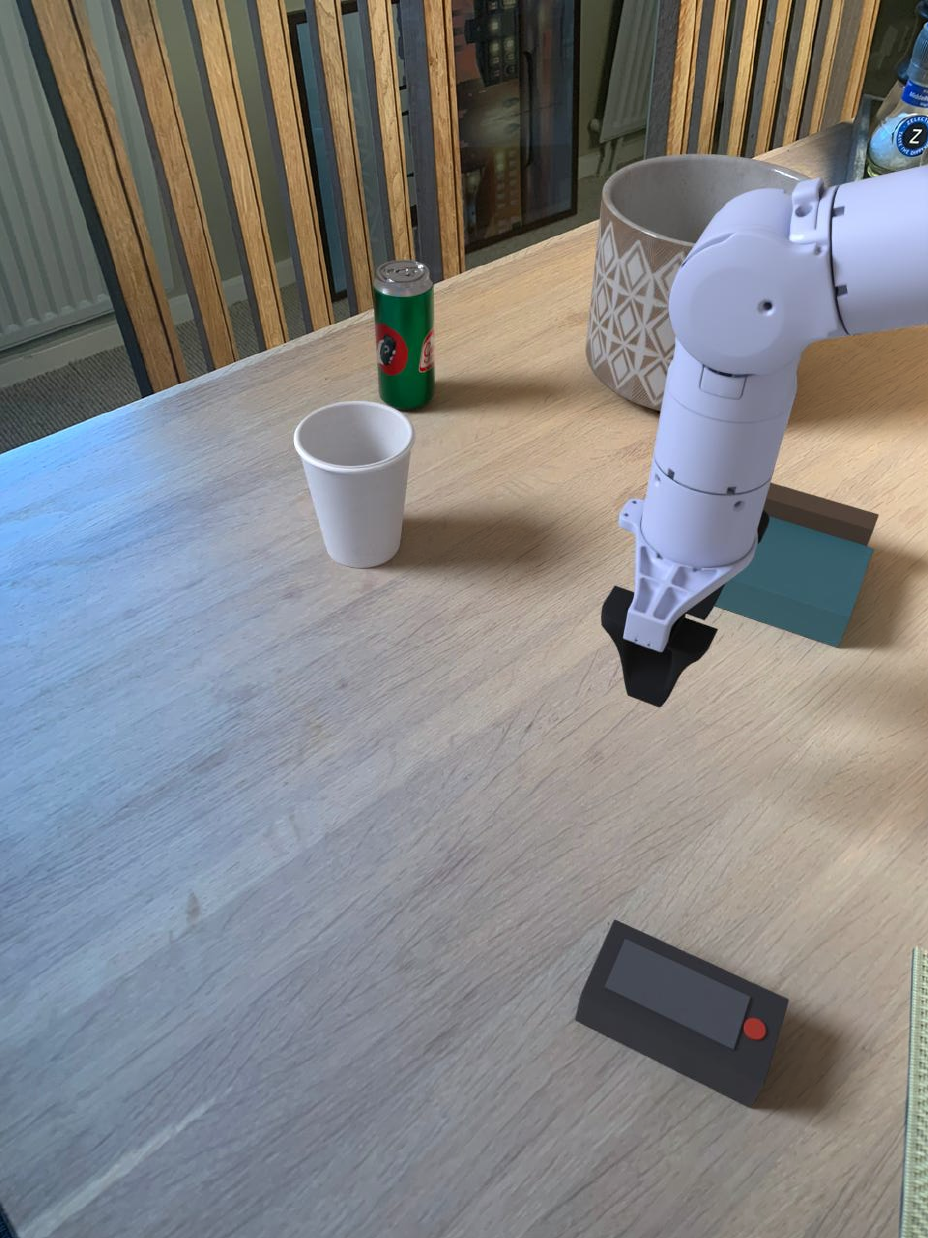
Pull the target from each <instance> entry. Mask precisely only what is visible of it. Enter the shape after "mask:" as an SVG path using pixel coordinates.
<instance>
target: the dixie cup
mask: <svg viewBox="0 0 928 1238" xmlns="http://www.w3.org/2000/svg"><path fill="white" fill-rule="evenodd" d="M415 442H416V430H415V427H414V425H413V423H412V422H411V420H410V419H409V418H408V417H407V416H406V415H405V414H404V413H402V412H401V411H400V410H398V409H394V408H392V407H390V406H388V405H387V404H383V403H381V402H374V401H369V400H348V401H341V402H335V403H331V404H328V405H325V406H323V407H319V408H318V409H316V410H314V411H312V412H311V413H310V414H308V415H307V416H305V417H304V418H302V420H301V421H300V423H299V424H298V425H297V427H296V429H295V431H294V433H293V443H294V449H295V450H296V452H297V454H298V455H299V456H300V459H301V462H302V466H303V470H304V473H305V477H306V481H307V484H308V488H309V491H310V495H311V499H312V502H313V506H314V510H315V513H316V517H317V520H318V524H319V528H320V531H321V534H322V539H323V543H324V546H325V549H326V552H327V554H328V555H329V557H330V558H331V559H332V560H333V561H335V562H336V563H338V564H340V565H342V566H345V567H348V568H355V569H367V568H373V567H378V566H380V565H383V564H385V563H387V562H388V561H390V560H391V559H393V558H394V557H395V555H397V553H398V551H399V549H400V547H401V540H402V531H403V521H404V514H405V513H404V512H405V504H406V494H407V489H408V488H407V486H408V479H409V469H410V462H411V461H410V460H411V452H412V449H413V447H414V446H415Z"/></svg>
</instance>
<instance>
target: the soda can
mask: <svg viewBox="0 0 928 1238" xmlns="http://www.w3.org/2000/svg"><path fill="white" fill-rule="evenodd" d="M372 298H373V299H372V300H373V316H374V317H373V318H374V333H375V349H376V351H375V352H376V367H377V368H376V369H377V370H376V371H377V385H378V386H377V388H378V396H379V398H380V400H381V401H382V402H384V403H385V405H387V406H389V407H392V408H394V409H396V410H398V411H415V410H418V409H422V408H424V407H425V406H427V405H428V404H429V403H430V402H431V401H432V400H433V398H434V397H435V395H436V354H435V353H436V352H435V350H436V348H435V344H436V342H435V341H436V340H435V282H434V280H433V278H432V276H431V275H430V270H429V267H427V266H426V264H424V263H422V262H420V261H416V260H411V259H396V260H390V261H387V262H384V263H382V264H381V265H379V266H378V267H377V269H376V276H375V278H374V279H373V282H372Z"/></svg>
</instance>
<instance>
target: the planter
mask: <svg viewBox="0 0 928 1238" xmlns="http://www.w3.org/2000/svg"><path fill="white" fill-rule="evenodd" d="M810 179H813V178H812V177H810V176H808V175H805V174H803V173H801V172H799V171H797V170H793V169H792V168H788V167H785V166H782V165H779V164H775V163H772V162H768V161H764V160H759V159H754V158H749V157H744V156H743V157H742V156H736V155H728V154H727V155H726V154H714V153H713V154H712V153H682V154H671V155H663V156H661V155H660V156H656V157H652V158H646V159H642V160H639V161H636V162H633V163H630V164H629V165H628V164H627V165H626V166H623V167H622V168H620V169H618V170H616V171H615V172H614V173H613V174H611V175H610V177H609V178H607V180H606V181H605V183H604V185H603V188H602V193H601V202H600V210H599V211H600V212H599V221H598V230H597V237H596V238H597V239H596V247H595V256H594V267H593V275H592V276H593V277H592V286H591V293H590V302H589V303H590V304H589V311H588V320H587V321H588V322H587V329H586V330H587V331H586V340H585V357H586V361H587V364H588V366H589V368H590V370H591V371H592V373H593V374H594V375H595V377H596V378H597V379H598V380H599V381H600V383H602V384H603V385H604V386H605V387H607V388H608V389H609V390H610V391H612V392H613V393H615V394H617V395H618V396H620V397H622V398H623V399H625V400H628V401H630V402H632V403H635V404H637V405H639V406H642V407H645V408H648V409H652V410H654V411H657V412H661V407H662V401H663V396H664V390H665V384H666V378H667V372H668V368H669V366H670V363H671V361H672V360H673V357H674V351H675V338H676V335H675V333H674V330H673V328H672V325H671V321H670V316H669V297H670V292H671V288H672V285H673V282H674V280H675V277H676V275H677V272H678V270H679V268H680V266H681V264H682V263H683V261H684V260H685V259H686V257H687V256H688V254H689V253H690V251H691V250H692V248H693V247H694V245H695V244H696V242H697V241H698V239H699V238H700V236H701V235H702V233H703V232H704V230H705V229H706V227H707V226H708V225H709V223H710V222H711V220H712V219H713V217H714V216H715V214H716V213H717V212H718V211H720V210H721V209H722V208H723V207H724V206H725V205H726V203H728V202H729V201H731V200H732V199H733V198H735V197H737V196H739V195H741V194H743V193H746V192H749V191H753V190H756V189H764V188H779V189H785V190H786V192H785V194H789V195H792V193H793V191H794V189H795V187H796V185H797V184H798V183H799V182H802V181H806V180H810ZM825 188H827V187H825ZM804 351H805V349H804V350H803V352H802V353H801V356H800V359H799V363H798V366H797V371H796V375H797V376H798V372H799V369H800V365H801V362H802V358H803V354H804Z"/></svg>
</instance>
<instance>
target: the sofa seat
mask: <svg viewBox="0 0 928 1238" xmlns="http://www.w3.org/2000/svg"><path fill="white" fill-rule="evenodd" d="M763 510H764V511H765V512H766V513H767V514H768V515H769V518H770V520H769V524H768V527H767V529H766V531H765V533H764V535H763V538H762V540H761V542H760V543H759V544H757V547H756V550H755V554H754V557H753V559H752V561H751V562H750V563H749V565H748V566H747V567H746V568H745V569H743V570H742V571H741V572H740V573H738V574H737V575H735V576H734V577H733V578H731V579H730V580H729V581H727V582H726V584H725V586H724V588H723V590H722V592H721V594H720V596H719V598H718V600H717V602H716V604H715V606H714V607H717V608H719V609H722V610H725V611H728V612H732V613H733V614H734V613H735V614H737V615H740V616H742V617H746V618H748V619H751V620H755V621H757V622H761V623H764V624H767V625H769V626H773V627H775V628H778V629H780V630H784V631H787V632H790V633H792V634H795V635H799V636H802V637H804V638H808V639H810V640H814V641H816V642H819V643H822V644H825V645H828V646H830V647H834V648H837V649H838V648H839V647H840V645H841V642H842V639H843V637H844V634H845V633H846V629H847V628H848V625H849V623H850V619H851V617H852V614H853V611H854V608H855V606H856V603H857V600H858V597H859V594H860V591H861V588H862V585H863V582H864V579H865V576H866V573H867V571H868V567H869V565H870V562H871V559H872V557H873V553H874V550H875V548H874V547H871V546H869V543H870V540H871V538H872V535H873V532H874V530H875V527H876V524H877V521H878V519H879V513H876V512H872V511H869V510H865V509H862V508H859V507H855V506H853V505H848V504H845V503H842V502H839V501H835V500H832V499H828V498H824V497H821V496H818V495H816V494H811V493H808V492H805V491H800V490H798V489H794V488H791V487H787V486H784V485H781V484H777V483H775V482H771V483H770V487H769V490H768V493H767V497H766V500H765V504H764V507H763Z"/></svg>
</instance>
